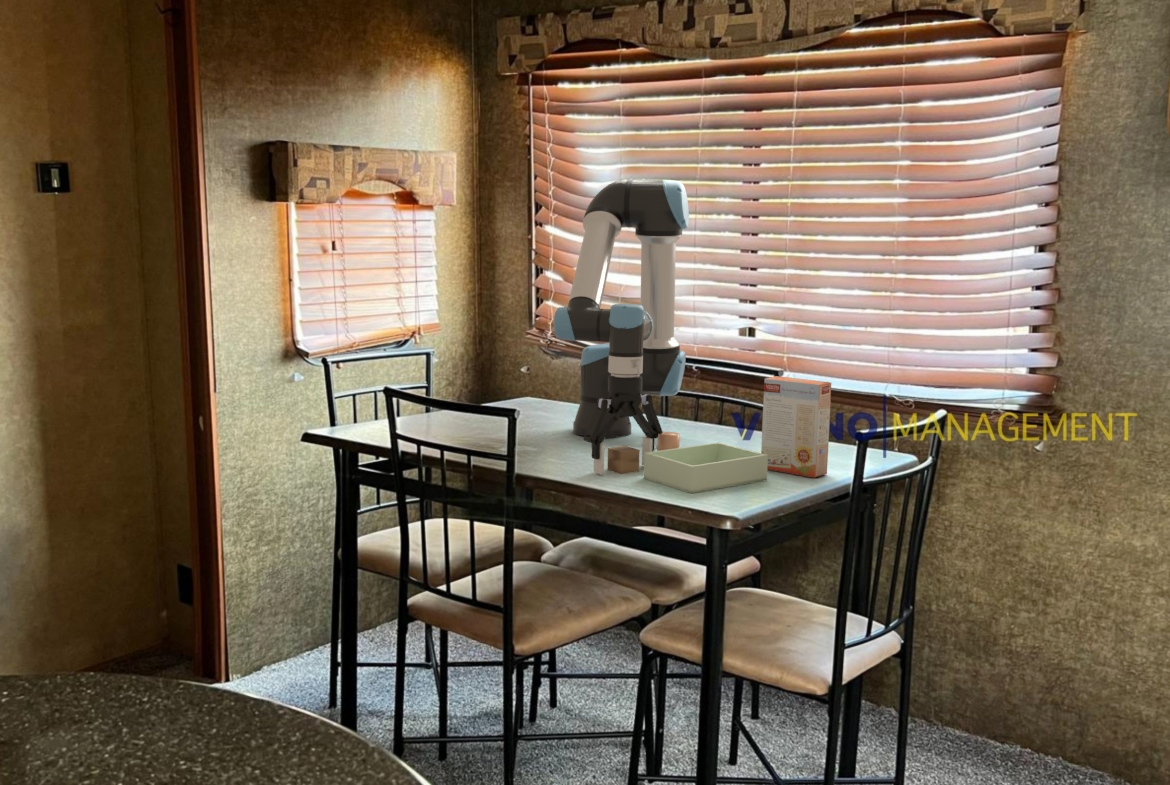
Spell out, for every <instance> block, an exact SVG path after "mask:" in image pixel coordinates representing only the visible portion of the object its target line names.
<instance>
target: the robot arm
mask: <svg viewBox="0 0 1170 785" xmlns="http://www.w3.org/2000/svg"><path fill="white" fill-rule="evenodd" d="M689 209H690V208H689V200H688V195H687V191H686V188H685V185H684V184H683V183H682V182H681V181H679V180H671V179H629V178H628V179H626V178H625V179H618V180H615V181H613V182H611V183H610V184H608V185H606V186H605V187H604V188H602V189H601V190H600V191H599V192H597V193H596V195H595V196H594V197H593V199H592V200H591V201H590V203H589V204H588V206H587V207H586V210H585V212H584V215H583V216H584V217H583V220H582V227H583V229H584V234H583V238H582V242H581V247H580V251H579V256H578V259H577V260H578V261H577V264H576V268H575V272H574V276H573V281H572V284H571V285H572V286H571V290H570V293H569V297H568V302H567V303H568V304H567V306H562V307H561V306H559V307H558V308H557V309H556V310H555V312H554V316H553V332H554V335H555V336H556V338H558V339H559V340H562V341H564V340H565V341H572V342H575V341H576V342H577V341H579V342H582V341H583V342H602V343H598V344H597V343H596V344H592V345H588V346H586V347H584V348H583V349H582V352H581V356H580V357H581V358H580V360H581V361H580V401H579V406H578V408H577V412H576V415H575V418H574V420H573V422H572V423H573V426H572V432H573V434H574V435H575V434H576V435H578V436H582V437H583V440H584V441H585V442H588V443H590V444H591V458H592V459H593V473H594V474H598V475H604V474H605V444H603V442H604V440H605V439H607V438H620V437H626V436H629V435H631V434H632V422H631V420H630V418H631V417H632V419H634V421H635V422H636V424H637V425H638V427H639V428H640V429H641V431H642V432H643V434H644V435H645V436H642V438H641V440H642V441H641V442H642V443H641V466H642V467H644V453H647V452H654V451H655V442H656V440H655V439H658V434H662V432H663V429H662V426H661V423H660V421H659V418H658V415H657V412H656V410H655V408H654V404H653V396H657V397H663V396H664V397H666V396H667V397H673V396H676V395H677V394H678V393H679V391H680V389H681V386H682V383H683V378H684V374H685V367H686V359H687V358H686V356H687V354H686V352H685V351H684V350H682V349H681V350H680V348H681V347H680V346H681V343H680V342H679V340H677V339H676V338H675V303H676V300H675V299H676V296H675V294H676V258H677V256H676V255H677V254H676V253H677V252H676V248H677V241H678V240H680V238H681V237H683V230H685V229H688V227H689V224H690V218H689V217H690V211H689ZM622 228H634V230H635V235H634V236H635V237H636V238H637V239H638V240H639V241H640V243H641V247H640V249H641V250H640V251H641V252H640V256H641V257H640V304H639V303H614V304H612V305H611V306H610V308H601V306H602V301H603V296H604V293H605V292H604V291H605V289H606V288H605V287H606V282H607V279H608V272H609V269H610V264H611V260H612V254H613V250H614V246H615V240H616V238H617V237H618V236H619V235H620V234H621V232H622ZM640 405H641V406H642V409H641V408H640Z"/></svg>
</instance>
